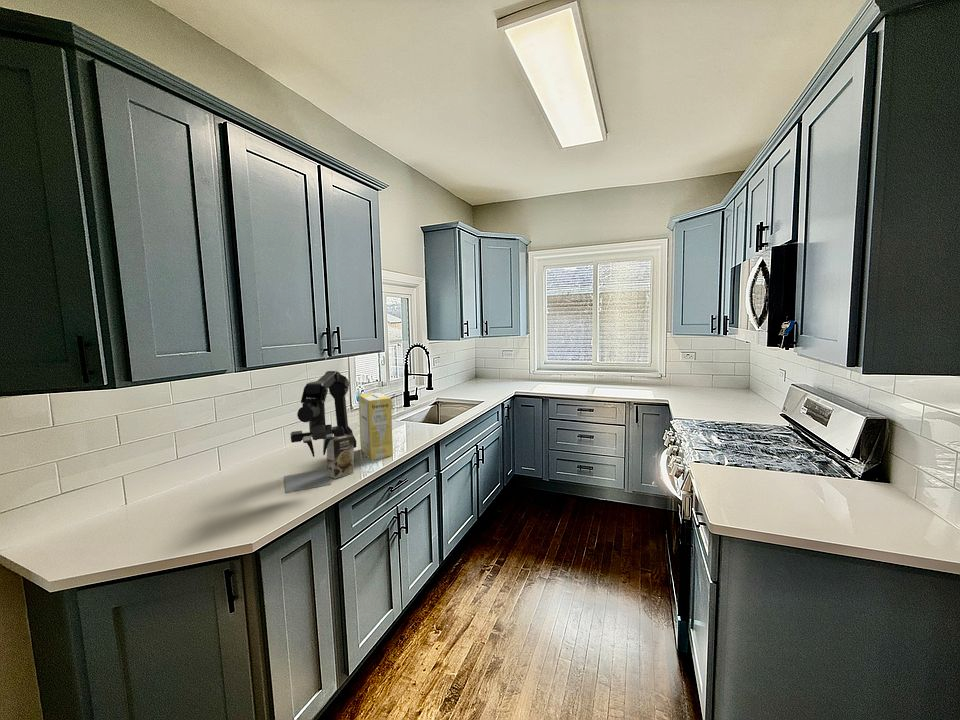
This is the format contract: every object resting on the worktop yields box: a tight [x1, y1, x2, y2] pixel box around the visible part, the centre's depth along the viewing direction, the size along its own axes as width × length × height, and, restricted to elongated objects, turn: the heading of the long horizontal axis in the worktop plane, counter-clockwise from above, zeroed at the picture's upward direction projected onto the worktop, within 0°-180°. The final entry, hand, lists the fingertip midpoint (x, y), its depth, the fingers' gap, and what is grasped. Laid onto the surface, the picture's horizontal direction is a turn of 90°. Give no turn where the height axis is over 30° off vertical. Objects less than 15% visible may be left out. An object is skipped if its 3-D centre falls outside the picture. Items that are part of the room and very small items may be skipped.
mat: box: [284, 468, 332, 494], centre depth 162 cm, size 18×16×1 cm
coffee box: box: [326, 434, 355, 480], centre depth 167 cm, size 9×6×16 cm
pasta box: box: [358, 392, 394, 461], centre depth 194 cm, size 18×10×28 cm, turn 31°
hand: (318, 455), depth 152 cm, fingers open, 3 cm apart
